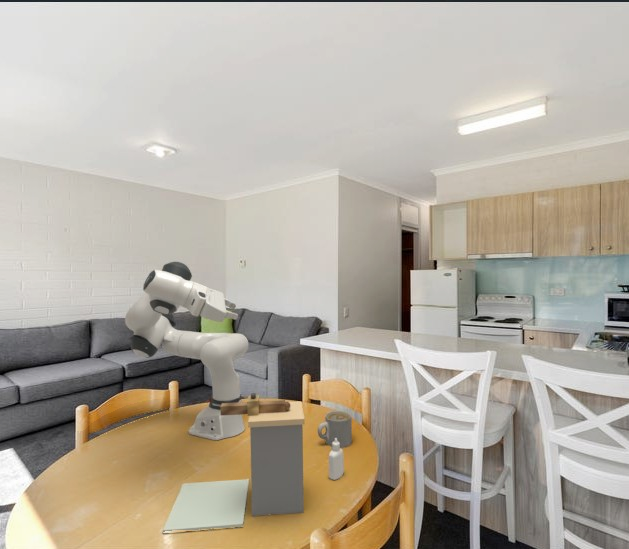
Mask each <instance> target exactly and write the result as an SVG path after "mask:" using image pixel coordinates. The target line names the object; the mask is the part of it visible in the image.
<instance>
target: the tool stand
mask: <svg viewBox="0 0 629 549" xmlns="http://www.w3.org/2000/svg"><path fill="white" fill-rule="evenodd" d="M288 402H289V403H290V409H289V410H287V411H286V410H285V412H279V413H260V414H259V415H256V416H248V421H247V424H248V425H247V426H248V428H249V429H250V434H249V435H250V480H251V481H250V483H251V487H250V489H251V517H258V516H257V515H264V516H270V515H269V514H277V515H287V514H288V515H289V514H299V513H304V512H305V511H304V510H305V509H304V503H305V502H304V501H305V500H304V499H305V498H304V445H303V444H304V441H303V440H304V437H303V432H304V431H303V430H304V429H303V425H305V414H304V409H303V403H302V401H298V400H297V401H288Z"/></svg>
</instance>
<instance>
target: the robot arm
mask: <svg viewBox="0 0 629 549" xmlns="http://www.w3.org/2000/svg"><path fill="white" fill-rule="evenodd" d="M192 277H193V275H192V272H191V270H190V268H189V267H188V266H187V264H185V263H183V262H180V261H170V262H168V263H165V264H164V265H163V266H162V269H161V270H160V269H153V270H152V271H150V272H149V274H148V275H147V277H146V279H145V281H144V283H143V288H142V289H143V292H144V294H143V295H142V296H141V297H140V298H139V299H138V300H136V302H135V303H134V304H133V305H131V306H130V308H129V309H128V310H127V312H126V314H125V318H124V323H125V326H126V327H127V328H128V329H129V330H130V331H133V334H132V336H130V337H129V340H130V349H131V351H132V352H133V353H134V354H135V356H138V357H140V358H152V357H154V356H155V355H156V354H157V352H158V351H159V350H158V349H159V348H160V347H161V346H162V350H164V351H165V353H168V354H170V355H174V356H177V357H181V358H189V359H192V360H193V359H194V360H200V361H201V362H202V364H203V365H204V366H205V367H207V368H208V371H209V373H210V376H211V377H210V378H211V382H212V383H211V384H212V388H211V389H212V396H210V397H209V398H208V399H207V400H206V403H207V404H208V403H209V404H208V405H207V406H206V407H205V408H203V409H202V410H201V411H200V412H199V413H198V414H197V415H196V416H195V420H194V424H193V425H192V426H190V428H189V429H188V434H189V435H193V436H197V437H200V438H203V439H204V438H205V439H209V440H213V441H220V440H222V439H223V440H224V439H226V438H231V437H234V436H235V437H236V436H238V435H240V434H242V433H243V432H244V431H245V430H246V427H245V423H244V420H243V414H240V415H221V404H222V403H238V402H242V394H241V379H240V378H241V377H240V375H239V373H238V372H236V371H235V367H234V361H236V360H237V359H240V358H241V357H243V355H245V354H246V353H247V351H248V350H249V340H248V339H247V337H246V336H245V335H244V334H242V333H239V332H238V333H236V332H234V333H233V332H232V333H228V332H199V331H190V330H179V329H176V328H174V327H176V326H177V321H175V316H174V314H175V313H176V312H177V311H178V310H179V308H180V306H181V307H182V308H184V309H187V310H188V311H189V313H190V314H191V316H194V317H199V316H200V317H202V318H204V319H206V320H207V319H208V320H210V321H213V322H218V323H223V322H224V320H225V319H233V320H235V321H236V320H238V317H239V314H238V313H237V312H235V311H233V312H232V311H229V310H227V307H228V308H229V309H232V310H235V309H236V306H237V305H236V303H235V302H232V301H231V300H229V299H228V298H225V294H224V293H223V292H222V291H219V290H217V289H214V288H210V287H208V286H206V285H203V284H201V283H199V282H196V281H193V280H192Z"/></svg>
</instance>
